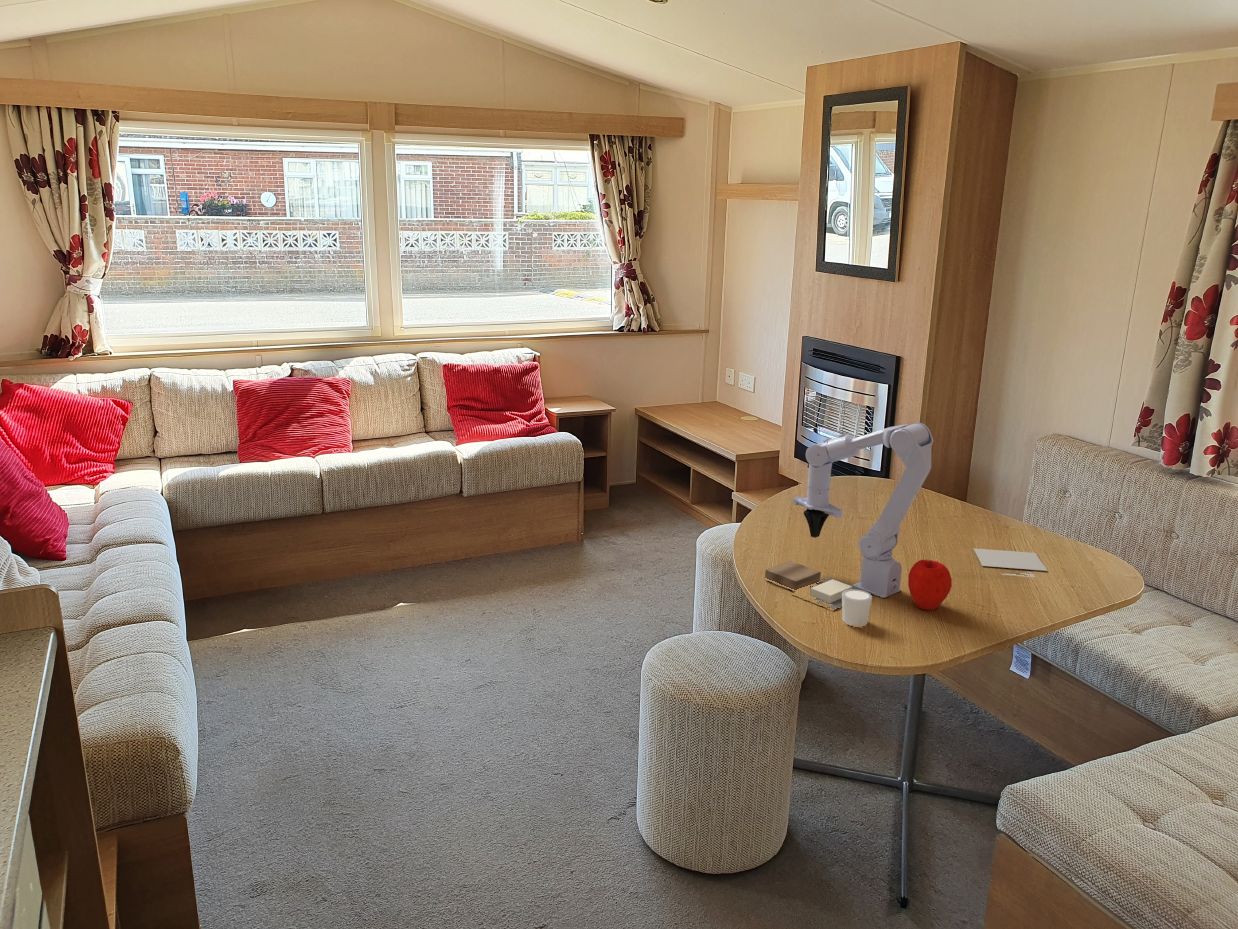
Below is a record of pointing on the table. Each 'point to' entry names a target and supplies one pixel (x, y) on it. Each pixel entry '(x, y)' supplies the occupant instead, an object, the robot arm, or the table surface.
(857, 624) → the white cylinder
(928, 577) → the apple
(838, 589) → the cream rectangular block
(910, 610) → the table surface
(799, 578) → the riser
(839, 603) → the mat
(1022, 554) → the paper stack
